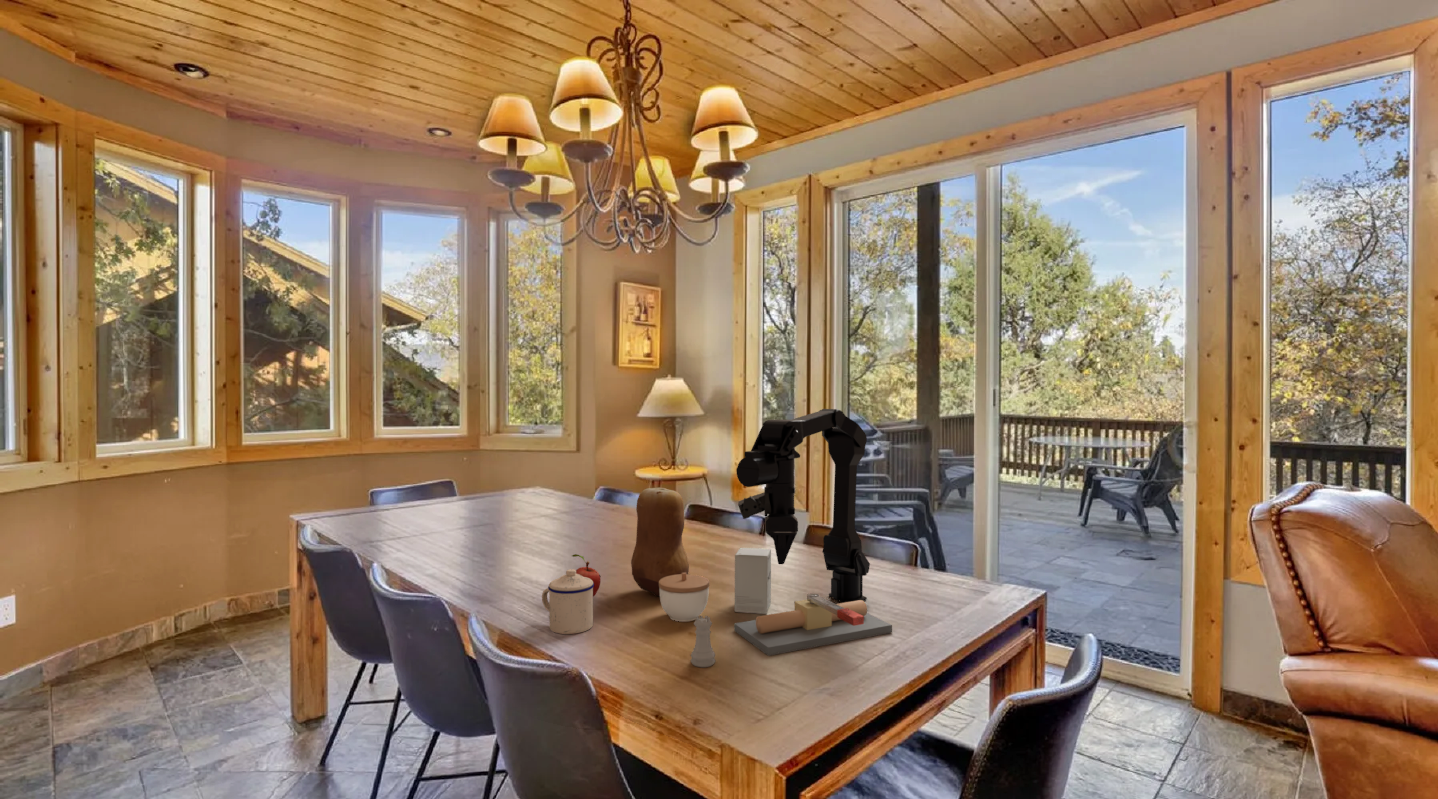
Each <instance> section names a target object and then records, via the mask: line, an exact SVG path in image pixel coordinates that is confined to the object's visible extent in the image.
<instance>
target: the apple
mask: <svg viewBox="0 0 1438 799" xmlns="http://www.w3.org/2000/svg"><path fill="white" fill-rule="evenodd" d="M571 557H573V558H574V557H576V558H577V557H580V558H581V559H582V560H583V561H584V563H585V564H586V565H585V566H581V567H578V568H577V569H575V570H576V574H579V575H581V576H583V577H587V578H590V579H591V580H592V581H593V583H594V587H593V598H594V597H595V596H596V595H597V593H598V591H599V588H600V587H601V576H602V575H600V573H599V572H598V571H597V570H596V569H594V568H592V567H589V565H590V561H588V560H587V561H585V557H584V556H582V555H581V554H580V555H579V554H577V553H575V554H573V555H571Z"/></svg>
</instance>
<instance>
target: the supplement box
mask: <svg viewBox="0 0 1438 799" xmlns="http://www.w3.org/2000/svg"><path fill="white" fill-rule="evenodd" d="M771 604H772V549H771V548H762V547H761V548H760V547H740V548H738V550H737V551H736V553H735V554H734V613H735V612H736V613H746V614H759V615H768V611H769V609H770V606H771Z"/></svg>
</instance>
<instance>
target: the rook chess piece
mask: <svg viewBox="0 0 1438 799" xmlns="http://www.w3.org/2000/svg"><path fill="white" fill-rule="evenodd" d="M693 625H694V627H695V628H696V629H695V631H694V633H695V644H694V647H693V649H692V652H691V653H690V657H691V659H690V663H691V664H692V666H694V667H696V668H710V667H712V666H713V665H714V664H715V663H716V658H715V657H716V653H715V651H714V650H713V647H712V643H711V633H712V632H711V630H710V628H711V626H712V625H713V622H712V621H711V617H710V616H708V615H705V616H704V618H703V615H699V617H696V620H694V622H693Z"/></svg>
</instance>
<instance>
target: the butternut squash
mask: <svg viewBox="0 0 1438 799" xmlns="http://www.w3.org/2000/svg"><path fill="white" fill-rule="evenodd" d="M684 506H685V505H684V500H683V497H682V495H681V494H680V493H679V492H678V491H676V490H673V489H667V488H665V487H649V488H645V489H643V490H642V491H641V492H640V493H639V494H638V497H637V500H636V507H635V508H636V510H635V511H636V518H637V519H636V520H637V521H636V522H637V523H636V539H635V546H634V550H633V552H632V557H631V560H630V564H631V565H630V566H631V575H632V577H633V580H634V581H635V582H636V584H637V586H638V587H639V588H640V589H641V590H642V591H645V592H649V593H651V594H653V595H654V596H657V597H660V594H659V580H660V579H662V578H664V577H667V576H671V575H678V574H682V573H686V574H689V573H690V572H689V571H690V562H689V559H688V555H687V553H686V549H685V547H684V545H683V533H684V528H685V507H684Z"/></svg>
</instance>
